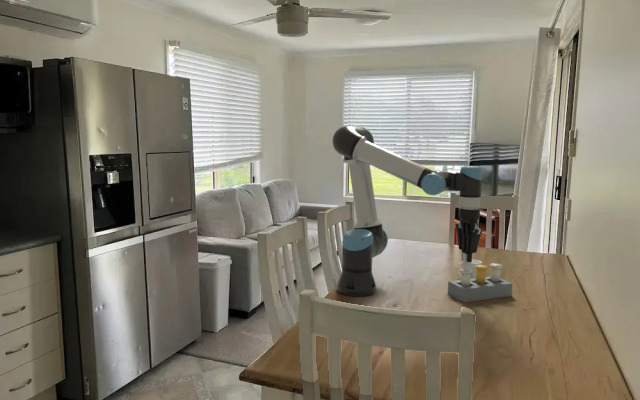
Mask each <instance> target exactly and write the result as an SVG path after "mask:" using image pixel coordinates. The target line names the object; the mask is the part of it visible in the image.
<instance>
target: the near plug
mask: <svg viewBox="0 0 640 400" xmlns="http://www.w3.org/2000/svg"><path fill="white" fill-rule="evenodd" d="M459 273H460V274H461V275H460V280H461V286H463V287H467V286H470V275H471V273H472V270H462V268H459Z"/></svg>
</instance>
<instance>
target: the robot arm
mask: <svg viewBox="0 0 640 400" xmlns="http://www.w3.org/2000/svg"><path fill="white" fill-rule="evenodd" d="M332 146H333V149H334V150H335V151H336V153H338V154H340V155H341V156H343V159H344V160H343V161H344V163H346V164H348V169H349V175H350V176H349V177H350V181H351V182H350V183H351V189H352V196H353V204H354V210H355V218H356V223H355V224H354V226H353V229H349V230H346V231H345V233H344V234H343V236H342V241H341V242H342V244H341V245H342V246H341V247H342V248H341V249H342V256H341V257H342V258H341V260H342V261H341V263H342V265H341V273H340V276H339V279H338V281H337V287H336V289H337V292H338V293H340V294H342V295H344V296H349V297H367V296H372V295H373V294H375V293H376V292H377V284H376V281H375V278H374V274H373V269H372V268H373V258H375V257H377V256H379V255H380V254H382V253H383V252H384V251H385V249H387V246H388V242H389V240H388V239H389V238H388V234H387V232H386V231H385V230H384V228H383V223H382V221H381V220H379V218H378V213H377V207H376V205H377V204H376V199H375V193H374V185H373V178H372V172H371V171H372V170H371V167H374V168H376V169H378V170H381V171H383V172H385V173H386V174H389V175H391V176H394V177H395V178H398V179H400V180H402V181H405V182H407V183H409V184H411V185H412V186H415V187H418V188H419V189H421V190H422V191H423V192H424V193H425V194H427V195H430V196H436V195H440V194H441V193H444V192H445V191H446V192H459V200H458V207H459V208H458V218H459V219H460V220H459V222H458V223H455V229H456V236H457V245H458V249H459V250H461V252H462V257H461V259H462V262H463V264H462V266H461V267H462V268H461V269H462V270H471V262H472V259H473V254H476V253H477V251H478V247H479V243H480V239H481V235H482V233H483V229H482V228H479V223H478V221H479V219H480V218H481V210H480V208H481V201H482V200H481V199H482V198H481V197H482V186H483V185H482V182H483V176H482V175H483V174H482V173H483V172H482V171H483V170H482V167H480V166H475V165H474V166H473V165H471V166H470V165H464V166H461V167H460V171H459V170H458V171H454V170H453V171H451V170H440V169H437V170H432V169H431V168H427V167H426V166H424V165H421V164H419V163H417V162H414V161H412V160H410V159H408V158H405V157H403V156H401V155H400V154H396V153H395V152H392V151H390V150H388V149H386V148H384V147H381V146H378V145H376V144H375V139H374V136H373V134H372V132H371V131H370V130H369V129H368V128H365V127H363V126H360V125H359V126H357V125H356V126H355V125H354V126H351V125H345V126H342V127H339V128H338V129H336V131H335V132H334V134H333V136H332Z"/></svg>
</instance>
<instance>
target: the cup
mask: <svg viewBox="0 0 640 400" xmlns="http://www.w3.org/2000/svg"><path fill="white" fill-rule="evenodd" d="M461 264H462V265H463V261H462V262H459V263H458V265H457V267H456V271H457V274H458V275H459V276H461V272H460V271H459V267H460V265H461ZM475 265H483V262H482V261H481V260H479V259H474V258H472V262H471V270H472V273H471V275H470V279H472V278H476V268H475Z"/></svg>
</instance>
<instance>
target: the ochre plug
mask: <svg viewBox="0 0 640 400" xmlns="http://www.w3.org/2000/svg"><path fill="white" fill-rule="evenodd" d="M475 268H476V283H477V284H485V277H486V273H487V270H488V266H487V265H483V264H482V265H475Z"/></svg>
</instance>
